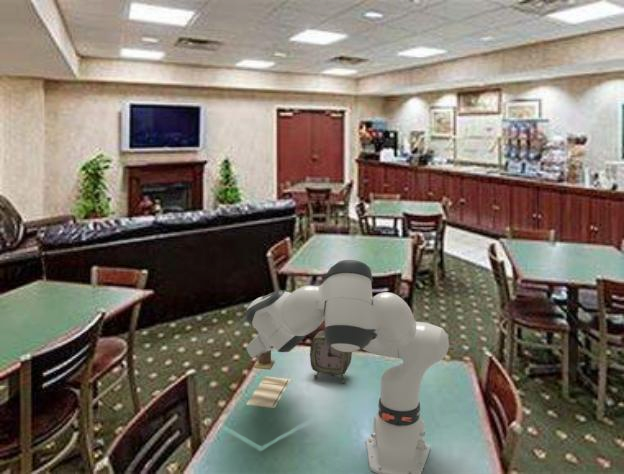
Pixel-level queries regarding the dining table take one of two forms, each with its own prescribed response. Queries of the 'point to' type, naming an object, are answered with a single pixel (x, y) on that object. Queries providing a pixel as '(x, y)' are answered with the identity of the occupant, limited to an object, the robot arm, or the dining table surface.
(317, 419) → the dining table surface
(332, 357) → the tabletop clock
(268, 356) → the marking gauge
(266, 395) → the plywood board
